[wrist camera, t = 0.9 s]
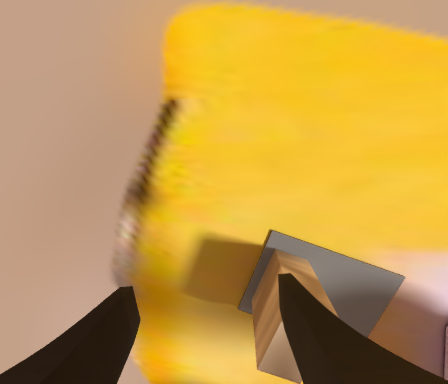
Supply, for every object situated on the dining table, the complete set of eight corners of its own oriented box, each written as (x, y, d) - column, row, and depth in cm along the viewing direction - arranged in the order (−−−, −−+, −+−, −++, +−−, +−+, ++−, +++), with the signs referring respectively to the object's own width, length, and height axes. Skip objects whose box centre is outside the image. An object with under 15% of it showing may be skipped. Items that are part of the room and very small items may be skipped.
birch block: (251, 300, 23) (257, 369, 17) (275, 248, 22) (291, 301, 15) (282, 310, 24) (300, 383, 17) (307, 259, 22) (338, 317, 15)
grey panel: (403, 276, 22) (405, 277, 22) (357, 348, 24) (358, 350, 24) (272, 230, 22) (272, 230, 21) (237, 308, 24) (238, 309, 24)
